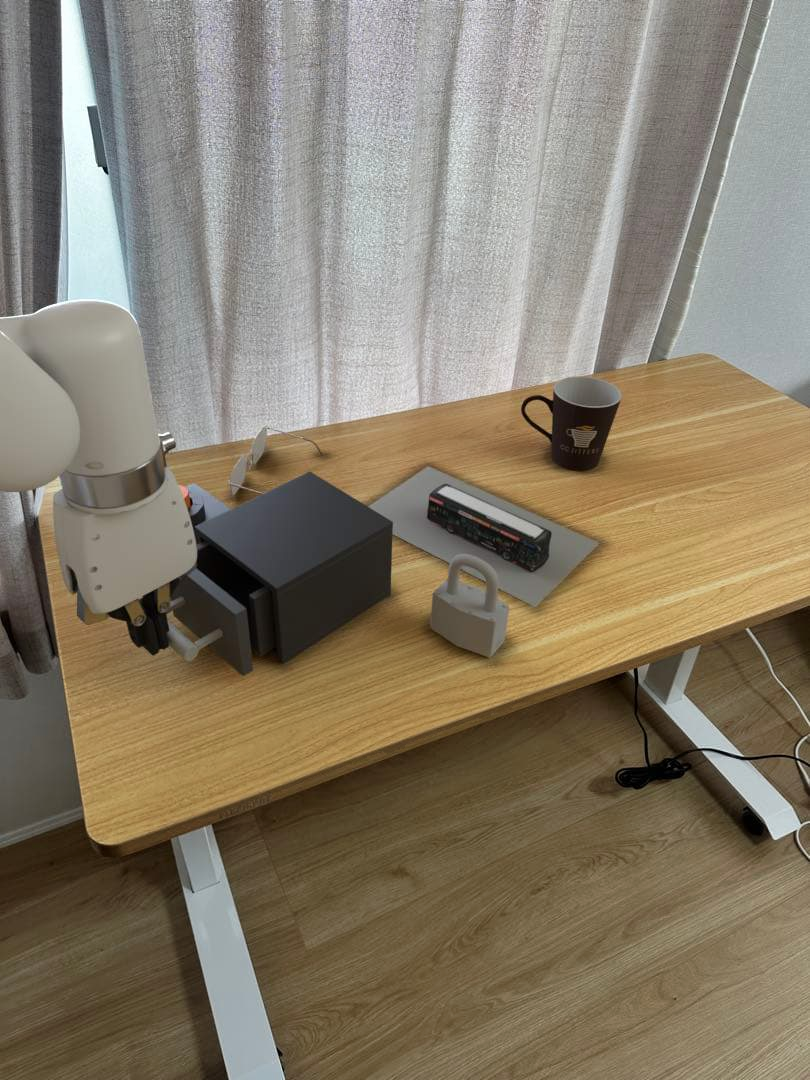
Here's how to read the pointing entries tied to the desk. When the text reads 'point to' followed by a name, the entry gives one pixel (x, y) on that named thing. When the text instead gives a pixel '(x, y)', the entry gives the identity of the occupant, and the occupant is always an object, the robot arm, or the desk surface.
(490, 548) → the grey desk mat
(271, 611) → the drawer
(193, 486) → the control block
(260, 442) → the eyeglasses
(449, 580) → the padlock
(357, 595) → the dark grey cabinet
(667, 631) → the desk surface
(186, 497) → the button
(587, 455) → the coffee mug
